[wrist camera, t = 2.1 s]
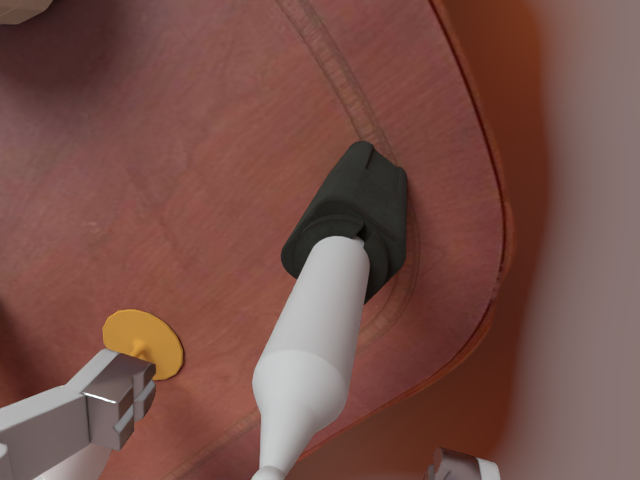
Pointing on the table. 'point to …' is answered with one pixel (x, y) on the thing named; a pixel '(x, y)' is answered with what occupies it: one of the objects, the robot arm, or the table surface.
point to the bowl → (21, 10)
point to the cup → (138, 341)
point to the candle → (328, 301)
